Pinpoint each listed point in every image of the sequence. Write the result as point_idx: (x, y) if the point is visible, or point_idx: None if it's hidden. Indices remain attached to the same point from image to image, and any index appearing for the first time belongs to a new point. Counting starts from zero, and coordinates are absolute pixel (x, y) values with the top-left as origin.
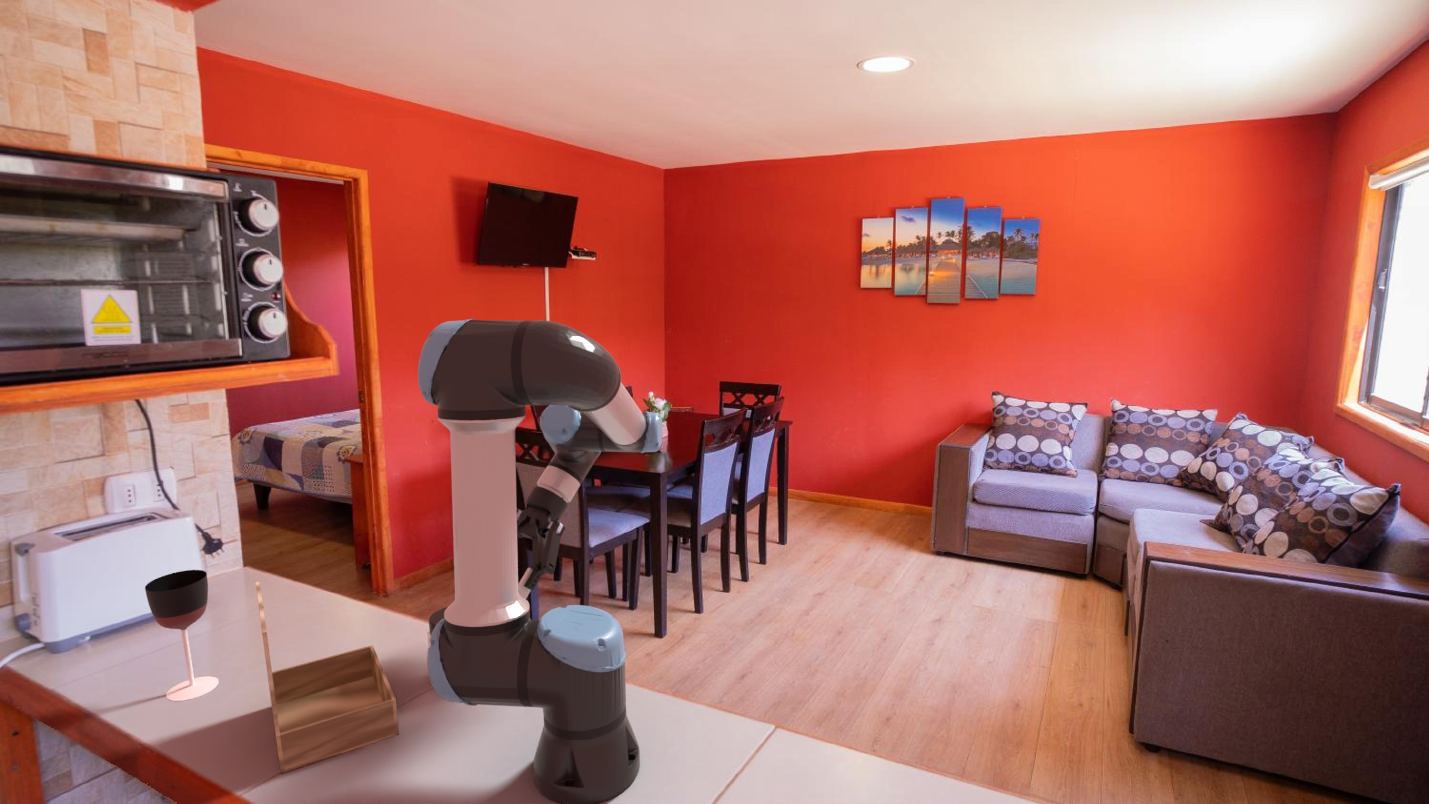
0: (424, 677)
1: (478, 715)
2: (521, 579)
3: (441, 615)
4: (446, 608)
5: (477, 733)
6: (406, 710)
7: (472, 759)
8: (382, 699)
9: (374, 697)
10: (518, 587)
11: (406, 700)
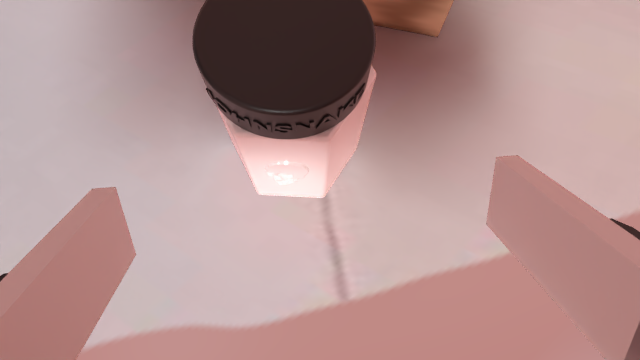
0: None
1: (124, 106)
2: (42, 264)
3: (317, 5)
4: (360, 40)
5: (74, 77)
6: None
7: (19, 37)
8: None
9: None
10: (58, 233)
11: None
